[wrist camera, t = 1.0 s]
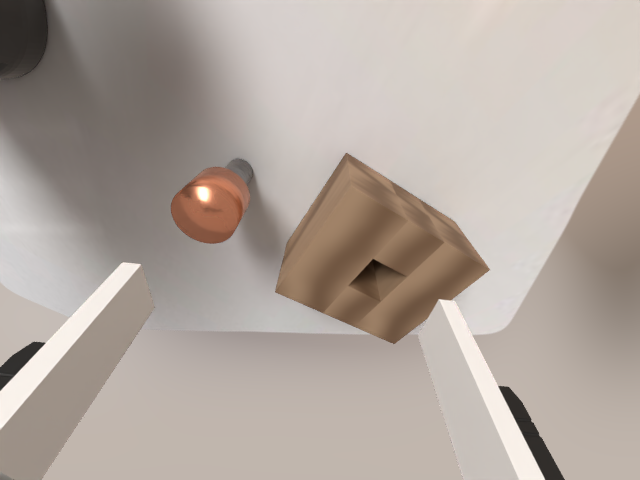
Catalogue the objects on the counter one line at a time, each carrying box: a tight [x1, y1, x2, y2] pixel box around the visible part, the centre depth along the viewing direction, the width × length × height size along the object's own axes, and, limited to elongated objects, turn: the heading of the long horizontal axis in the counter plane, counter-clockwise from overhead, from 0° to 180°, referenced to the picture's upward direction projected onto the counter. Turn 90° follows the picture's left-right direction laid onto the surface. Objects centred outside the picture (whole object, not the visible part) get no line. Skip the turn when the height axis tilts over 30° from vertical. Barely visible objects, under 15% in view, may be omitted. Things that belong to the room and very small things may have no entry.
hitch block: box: [275, 153, 490, 344], centre depth 31 cm, size 16×14×9 cm
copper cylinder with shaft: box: [171, 159, 253, 243], centre depth 26 cm, size 5×5×10 cm
